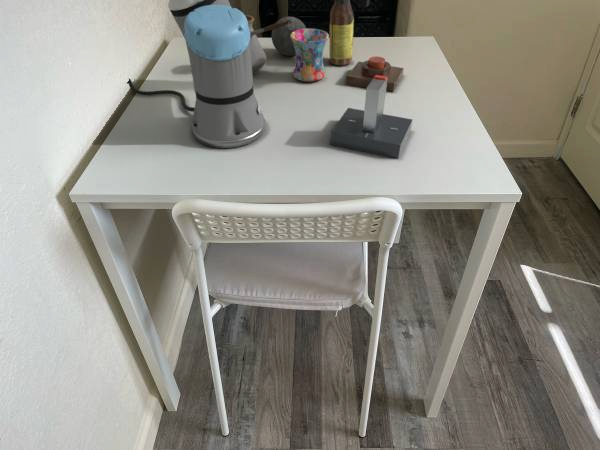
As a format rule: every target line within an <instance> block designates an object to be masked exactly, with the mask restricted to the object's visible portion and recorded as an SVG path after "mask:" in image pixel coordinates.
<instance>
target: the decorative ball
mask: <svg viewBox="0 0 600 450" xmlns="http://www.w3.org/2000/svg"><path fill="white" fill-rule="evenodd" d="M287 20H291V21H292V22H291V23H290V24H289V27H288V25H287V24H286V25H285V26H284V27H283V26H281V27H279V28H278V29H274V30H271V42H272V45H273V47H274V48H275V50H276V51H277V52H278V53H279V54H282V55H284V56H289V57H292V56H296V53H295V48H294V44H293V42H292V39H291V37H290V35H291V33H292V32H294V31H296V30H300V29H307V27H306V25H305V24H304V22H302V20H300V19H299V18H297V17H294V16H284V17H282V18H279V20H277V21H276V23H281V22H282V21H287ZM293 22H294V24H293ZM294 25H295V26H294ZM293 27H294V29H293ZM289 28H290V29H289ZM291 29H292V30H291Z"/></svg>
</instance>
